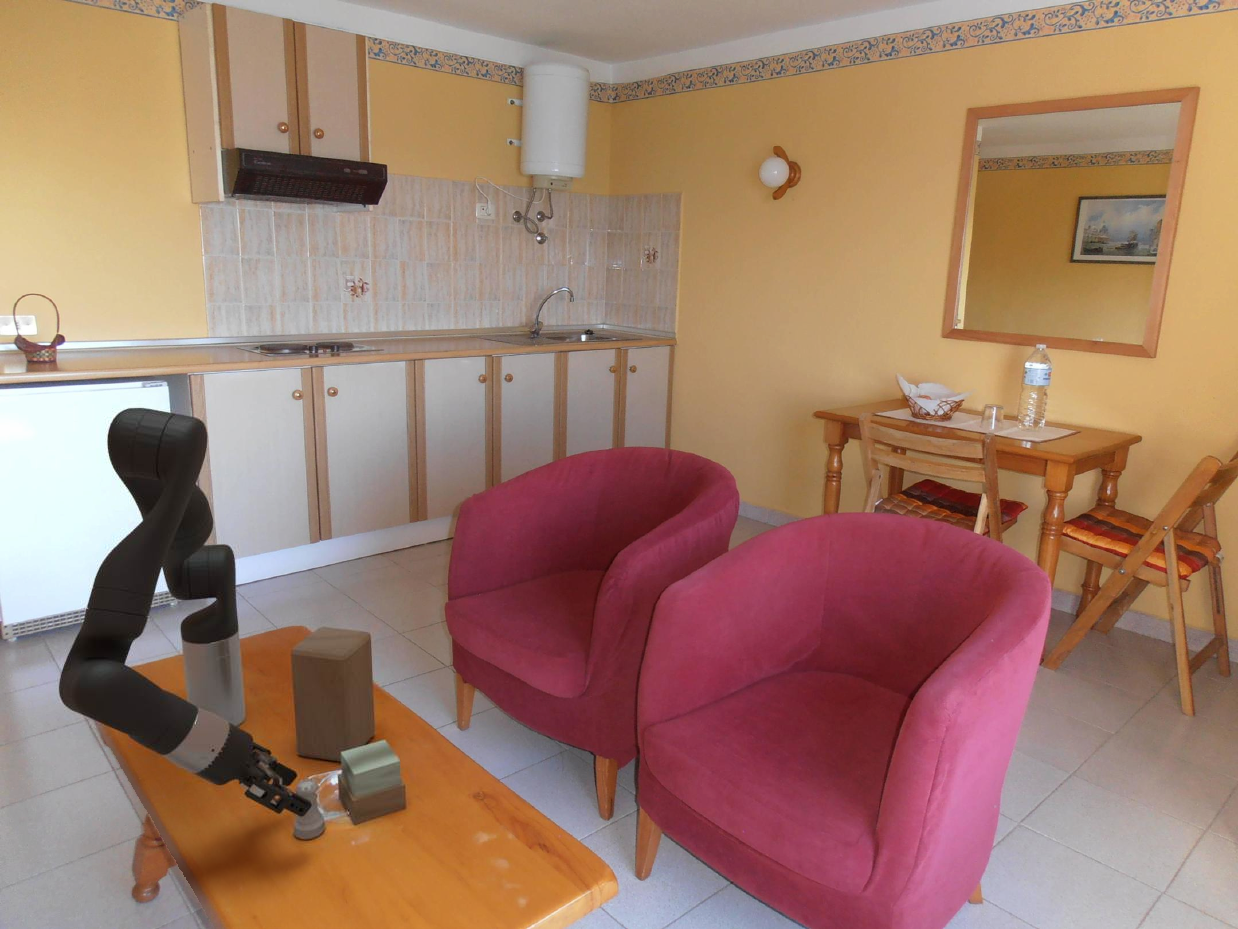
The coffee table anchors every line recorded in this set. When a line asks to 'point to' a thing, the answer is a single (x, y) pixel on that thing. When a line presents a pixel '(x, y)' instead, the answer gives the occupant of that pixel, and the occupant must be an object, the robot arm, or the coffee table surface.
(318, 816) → the rook chess piece
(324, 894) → the coffee table surface
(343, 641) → the block
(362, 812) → the tower base
